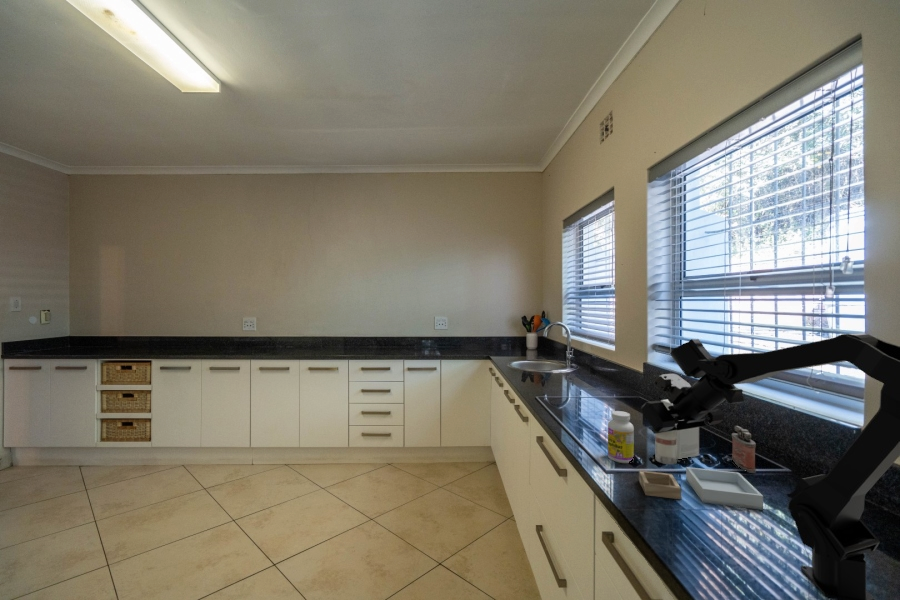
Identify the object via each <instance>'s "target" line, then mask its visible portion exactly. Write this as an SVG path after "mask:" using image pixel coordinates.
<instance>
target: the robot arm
mask: <svg viewBox="0 0 900 600" xmlns="http://www.w3.org/2000/svg"><path fill="white" fill-rule="evenodd" d="M670 356H671V358H672V359H673V360H674V362H675V363H676V365H677V366H678V367H679V368H680V369H681V371H682V372H683V373H684V375H685V376H686V377H688V378H692V377H693V379H697V380H696V382H694V383H693V384H692V385H691V384H690V383H689V382H687V380H685V379H683V378H682V377H681V376H680V375H679V374H676V373H665V374H664V373H663V374H661V375H658V376H657V377H656V378H655V379H654V383H653V384H654V385H653V386H654V387H655V388H656V389H658V390H659V391H660V392H662V393H664V394H666V395H667V396H669V397H668V398H667V399H668V400H669V402H670V403H671V404H672V403H673V406H668V409H669V410H668V409H667V408H666V406H665V405H664V403H663V402H661V400H652V401H646V402H645V403H644V404H642V405H641V408H640V409H641V411H642V413H643V414H644V416H645V418H646V419H647V421H648V423H649V424H650V425H651V431H652V433H653V434H654V435H655V434H656V433H662V432H668V431H675V430H683V429H690V428H697V427H699V428H701V427H705V426H707V425H706V422H705V420H706V417H705V416H706V415H707V417H708V418H709V420H707V423H708V424H709V426H712V425H718V424H720V423H722V422H723V421H724V418H725V417H724V416H725V415H724V413H723V411H722V410H721V408H720V407H719V405H720V404H722V403H723V402H724V401H726V402H727V403H729V404H739V403H744V402H745V397H744V394H743V392H744V391H743V389H741V388H738V387H736V385H740V384H753V383H756V382H759V381H763V380H766V379H768V378H772V377H773V376H775V375H777V374H779V373H782V372H789V371H793V370H801V369H805V368H806V369H807V368H813V367H818V366H819V367H820V366H826V365H832V364H837V363H843V362H848V363H850V364H852V365H853V366H854V367H856V368H857V369H859V370H860V371H861V372H863V373H865V374H866V375H867V376H869V377H870V378H872V379H874V380H876V381H878V382H880V383H882V384H883V385H882V386H881V389H880V395H879V408H878V410H877V411H876V413H875V414H874V416H872V418H871V420H870V421H868V422H867V424H866V425H865V427H863V429H862V430H861V432H860V433H859V434H858V435H857V437H856V438H855V439H854V441H853V442H852V443H851V444H850V445H849V446H848V448H847V449H846V450H845V452H844V453H843V454H842V456H841V457H840V458H839V459H838V460H837V462H836V463H835V464H834V465H833V467H832V468H831V469H830V471H829V472H828V473H827V474H825V473H822V474H818V475H812V476H808V477H804V478H800V479H799V480H798V482H797V484H796V487H795V489H794V490H793V491H792V492H790V493H787V494H786V496H787V498H790V500H788V503H787V509H788V511H789V513H790V516H791V517H792V519H793V521H794V523H795V526H796V529H797V532H798V535H799V538H800V541H801V542H802V544H803V545H804V546H806V547H808V548H810V549H811V566H806V565H800V571H802V572H803V573H804V574H805V575H806V577H808V579H809V580H810V581H811V583H812V584H814V585H815V587H816V588H817V589H818V590H819V591H820V593H822V595H824V596H825V597H826V598H830V599H834V600H877V598H875V597H874V595H872V594H871V593H870V592H869V590H867V561H866V555H865V554H866V553H869V552H872V553H873V552H874V551H876V549H877V548H878V546H879V545H880V542H881V541H880V539H879V538H878V537H877V536H876V535H875V533H873V531H872V530H871V529H870V528H869V526H867V525H866V523H865V522H864V521H863V520H862V519H861V517H862V514H863V513H864V511H865V498H866V494H868V492H869V491H870V490H871V489H872V488H873V486H875V484H876V483H877V482H878V481H879V479H881V477H882V476H883V475H884V474H885V473H886V472H887V471H888V470H889V469H890V467H891V466H892V465H893V464H894V463H895V462H896V461H897V459H898V458H899V457H900V345H897V344H893V343H890V342H887V341H885V340H883V339H880V338H877V337H874V335H871V334H869V333H864V332H861V333H843V334H839V335H837V336H834V337H832V338H827V339H822V340H818V341H813V342H808V343H803V344H799V345H793V346H788V347H783V348H781V349H775V350H770V351H765V352H749V353H748V352H747V353H746V352H745V353H744V352H743V353H731V354H730V353H729V354H726V353H725V354H720V355H718V356H716V357H713V356H712V354H711V353H710V352H709V351H708V350H707V349H706V348H705V346H704V344H703V343H702V341H701V340H700V339H699V338H695V339H694V338H692V339H690V340H689V341H687V342H685V343H682V344H680V345H678V346H676V347H674V348H673V349H672V350H671V352H670ZM676 424H677V428H676V427H675V425H676Z"/></svg>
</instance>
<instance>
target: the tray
mask: <svg viewBox="0 0 900 600" xmlns="http://www.w3.org/2000/svg"><path fill="white" fill-rule="evenodd" d="M685 472H686V475H685V476H686V481H687V482H688V484H689V485H690V486H691V488H692V489H693V490H694V492H695V493H696V494H697V496H698V498H699V499H700V500H701V502H702V503H704V504H705V503H706V504H713V505H719V506H720V505H721V506H730V507H737V508H744V509H745V508H746V509H750V510H751V509H753V510H760V511H764V495H763V494H762V493H761V492H760V491H758V489H757V488H756V487H755V486H753V485H752V484H751V483H750V482H749V481H748V480H747V478H745V476H743V475H742V474H741V473H740V472H737V471H727V470H716V469H708V468H699V467H689V466H686V471H685Z"/></svg>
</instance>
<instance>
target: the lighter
mask: <svg viewBox="0 0 900 600" xmlns="http://www.w3.org/2000/svg"><path fill="white" fill-rule="evenodd" d="M734 431H736V432H737V433H735V432H733V433H731V438H732V456H731V460H732V459H733V461H734V462H735V464H736V465H737V466H739V467H740V468H743V469H744V470H746V471H747V472H746V473H750V474H756V471H757V469H756V447H757V443H756V442H755V441H754V440H752V433H750V432H749V431H750V430H748V429H746V428H745V429H744V428H743V427H741V426H739V425H735V426H734ZM735 464H734V465H735ZM736 465H735V466H736ZM737 466H736V467H737ZM739 467H738V468H739ZM740 468H739V469H740Z"/></svg>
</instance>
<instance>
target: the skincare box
mask: <svg viewBox="0 0 900 600" xmlns="http://www.w3.org/2000/svg"><path fill="white" fill-rule="evenodd" d="M660 402H663V403H664V405H665V406H666V408H667V409H668V406H673V403H672V404H671V403H670V402H669V400H668V398H667V399H661V400H660ZM668 410H669V409H668ZM699 456H700V427H697V428H690V429H683V430H677V460H678V459H682V458H687V459H689V458H688V457H691V458H694V457H699ZM682 460H683V459H682Z"/></svg>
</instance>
